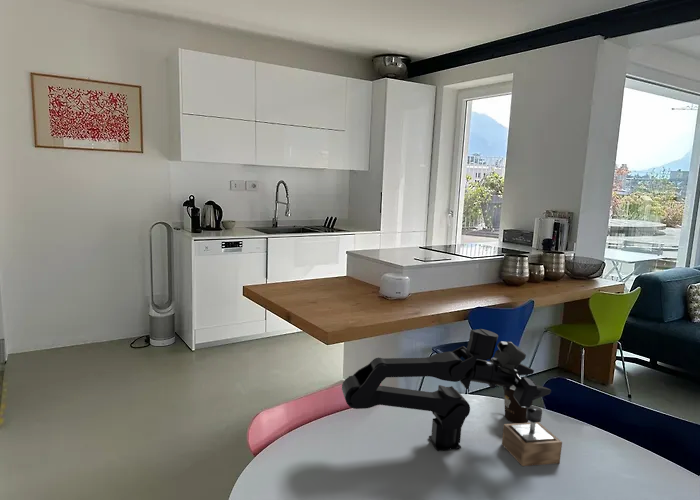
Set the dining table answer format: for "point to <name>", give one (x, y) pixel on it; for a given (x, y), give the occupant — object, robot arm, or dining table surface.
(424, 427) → the dining table surface
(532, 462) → the wooden square tray
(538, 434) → the plunger
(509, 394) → the coffee mug
